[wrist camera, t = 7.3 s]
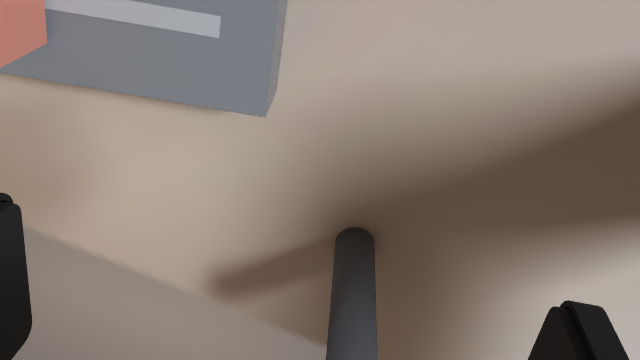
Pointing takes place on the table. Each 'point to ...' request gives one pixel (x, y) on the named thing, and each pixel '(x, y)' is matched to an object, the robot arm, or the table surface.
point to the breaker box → (164, 50)
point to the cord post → (353, 298)
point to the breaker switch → (21, 28)
